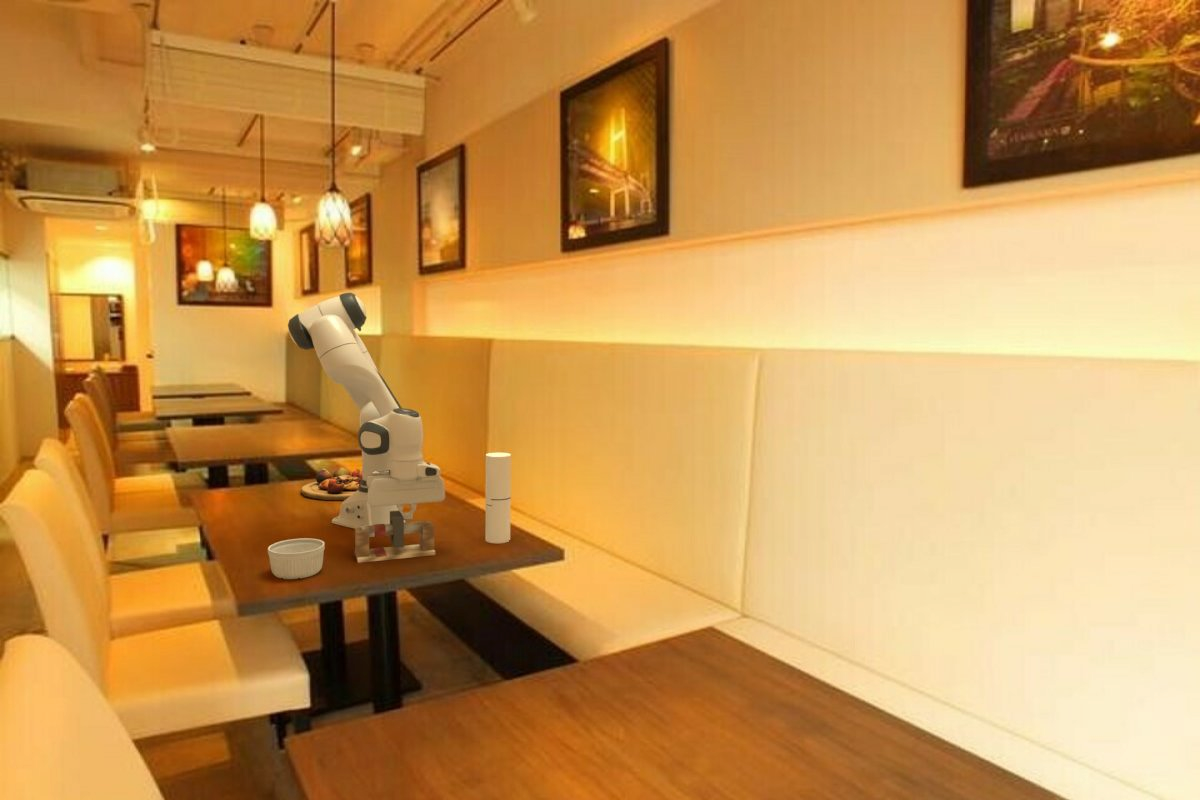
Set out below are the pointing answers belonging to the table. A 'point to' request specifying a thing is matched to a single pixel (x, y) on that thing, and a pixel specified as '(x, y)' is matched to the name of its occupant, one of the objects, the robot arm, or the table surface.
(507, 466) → the cylindrical container
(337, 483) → the wooden plate with food
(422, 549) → the pipe rig
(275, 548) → the ramekin
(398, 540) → the collar
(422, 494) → the robot arm
